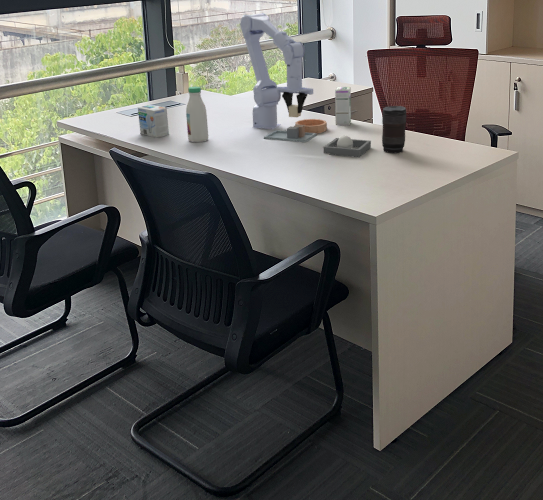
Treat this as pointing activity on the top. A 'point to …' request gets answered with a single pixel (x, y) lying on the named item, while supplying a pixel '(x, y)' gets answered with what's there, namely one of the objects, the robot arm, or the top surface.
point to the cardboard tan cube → (301, 130)
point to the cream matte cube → (294, 111)
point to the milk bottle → (196, 116)
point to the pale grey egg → (345, 142)
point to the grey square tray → (361, 144)
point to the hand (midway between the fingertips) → (295, 112)
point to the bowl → (313, 125)
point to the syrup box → (343, 106)
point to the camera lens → (393, 129)
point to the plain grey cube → (293, 132)
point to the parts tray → (283, 136)
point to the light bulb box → (153, 121)
